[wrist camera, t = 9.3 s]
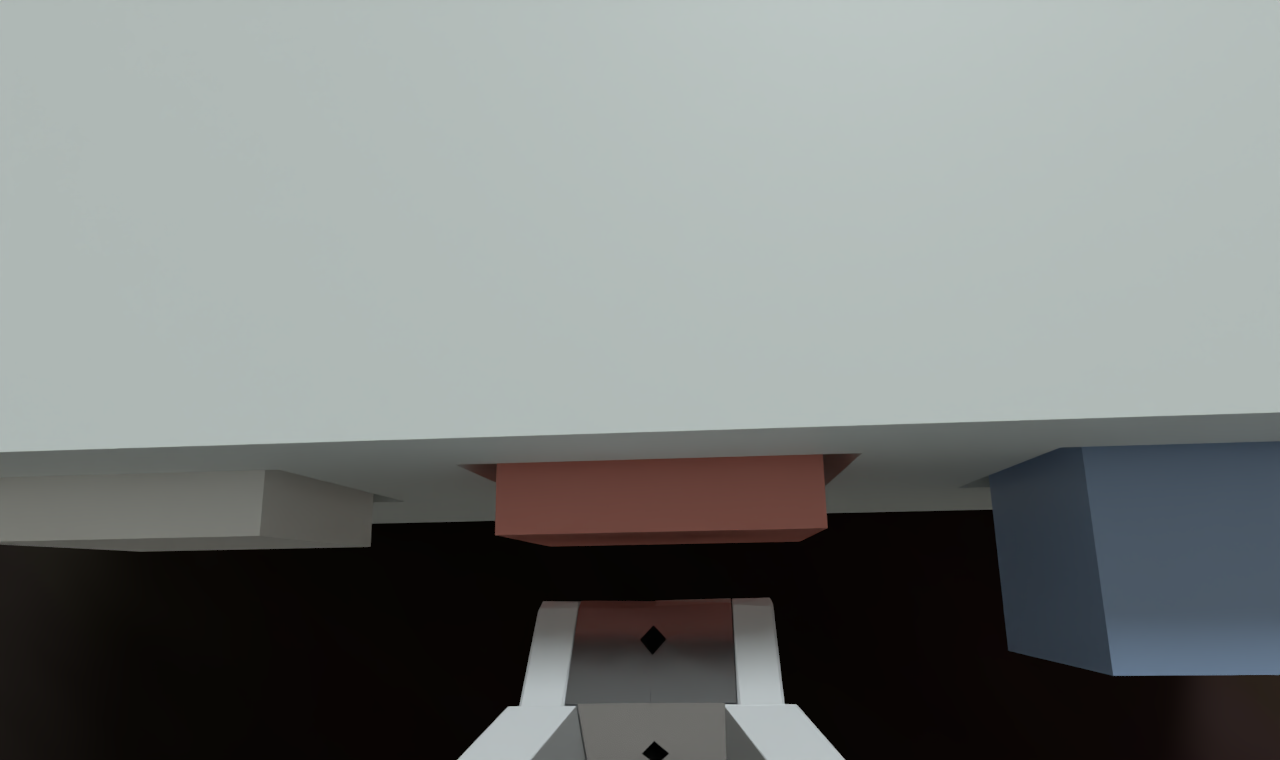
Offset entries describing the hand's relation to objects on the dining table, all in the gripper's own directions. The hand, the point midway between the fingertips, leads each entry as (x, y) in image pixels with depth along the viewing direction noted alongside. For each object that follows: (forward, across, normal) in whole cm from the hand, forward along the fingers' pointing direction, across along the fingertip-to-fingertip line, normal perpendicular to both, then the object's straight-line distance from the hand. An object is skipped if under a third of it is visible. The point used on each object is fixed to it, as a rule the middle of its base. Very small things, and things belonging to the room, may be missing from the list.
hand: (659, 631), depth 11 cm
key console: (+10, 0, 0) cm, 10 cm away
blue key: (+2, -7, +1) cm, 7 cm away
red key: (+3, 0, 0) cm, 4 cm away
